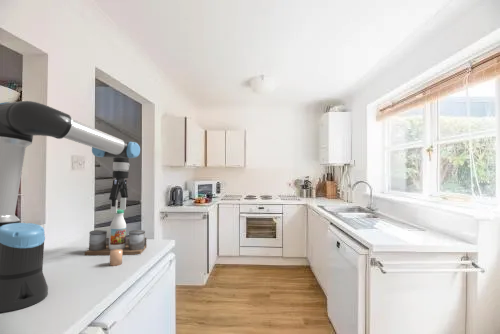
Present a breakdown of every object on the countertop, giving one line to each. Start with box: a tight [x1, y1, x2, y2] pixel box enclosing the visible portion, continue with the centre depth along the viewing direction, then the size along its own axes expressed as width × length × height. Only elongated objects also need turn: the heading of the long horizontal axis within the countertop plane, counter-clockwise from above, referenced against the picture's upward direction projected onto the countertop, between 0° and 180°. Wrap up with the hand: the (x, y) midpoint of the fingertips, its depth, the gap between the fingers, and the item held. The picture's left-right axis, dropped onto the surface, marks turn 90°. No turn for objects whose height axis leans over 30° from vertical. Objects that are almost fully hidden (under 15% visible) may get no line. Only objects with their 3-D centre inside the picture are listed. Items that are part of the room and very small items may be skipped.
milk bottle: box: [108, 209, 127, 250], centre depth 136 cm, size 8×8×20 cm
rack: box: [84, 229, 148, 256], centre depth 137 cm, size 13×27×10 cm, turn 98°
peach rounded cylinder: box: [109, 249, 123, 267], centre depth 118 cm, size 5×5×6 cm
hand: (118, 211), depth 137 cm, fingers open, 13 cm apart
